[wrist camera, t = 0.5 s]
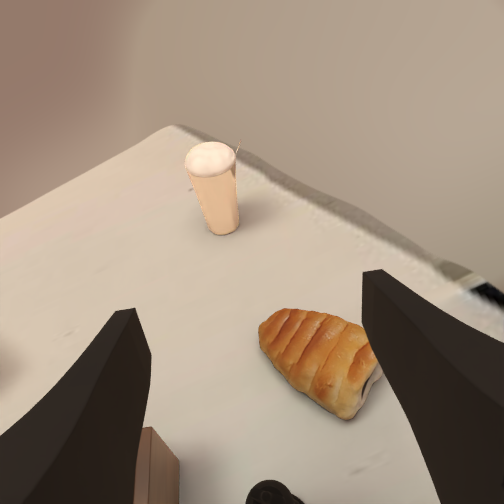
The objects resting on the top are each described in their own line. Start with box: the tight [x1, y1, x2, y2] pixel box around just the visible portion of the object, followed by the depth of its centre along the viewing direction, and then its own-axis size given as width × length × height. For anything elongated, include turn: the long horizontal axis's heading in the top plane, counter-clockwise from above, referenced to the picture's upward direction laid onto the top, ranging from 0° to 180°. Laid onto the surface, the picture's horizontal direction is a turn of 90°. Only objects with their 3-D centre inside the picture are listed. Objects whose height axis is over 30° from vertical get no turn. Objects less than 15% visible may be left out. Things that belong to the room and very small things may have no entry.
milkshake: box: [185, 141, 241, 235], centre depth 39 cm, size 4×5×10 cm
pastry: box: [258, 308, 383, 420], centre depth 30 cm, size 9×7×4 cm
